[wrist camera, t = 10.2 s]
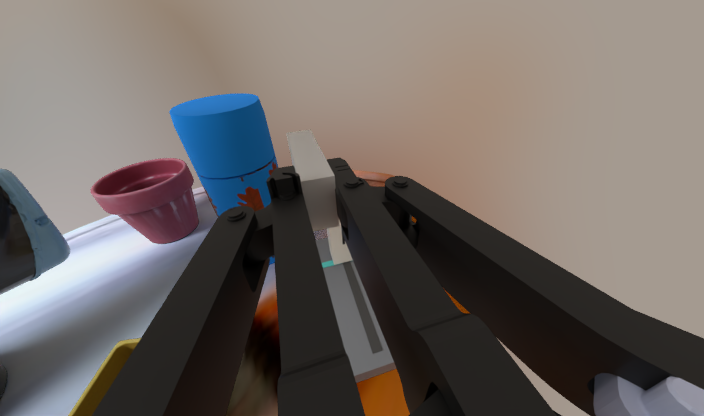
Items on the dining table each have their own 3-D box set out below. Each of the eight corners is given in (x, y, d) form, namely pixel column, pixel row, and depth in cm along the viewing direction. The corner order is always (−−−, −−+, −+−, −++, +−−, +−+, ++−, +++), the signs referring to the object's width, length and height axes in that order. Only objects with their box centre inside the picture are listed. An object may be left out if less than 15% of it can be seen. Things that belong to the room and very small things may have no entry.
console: (418, 360, 29) (420, 352, 28) (344, 386, 28) (342, 379, 26) (361, 237, 46) (360, 229, 45) (313, 249, 45) (311, 240, 43)
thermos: (303, 226, 50) (273, 92, 35) (285, 269, 41) (234, 115, 26) (252, 224, 51) (203, 94, 36) (225, 264, 43) (145, 117, 28)
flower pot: (163, 376, 30) (116, 339, 24) (238, 367, 30) (208, 328, 24) (113, 486, 22) (31, 469, 17) (211, 473, 23) (161, 452, 17)
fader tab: (359, 259, 39) (355, 189, 32) (333, 265, 39) (323, 196, 31) (353, 245, 42) (348, 177, 34) (329, 251, 41) (318, 183, 33)
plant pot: (193, 201, 60) (166, 151, 52) (225, 221, 53) (200, 167, 45) (123, 235, 51) (79, 181, 43) (150, 265, 44) (103, 207, 36)
